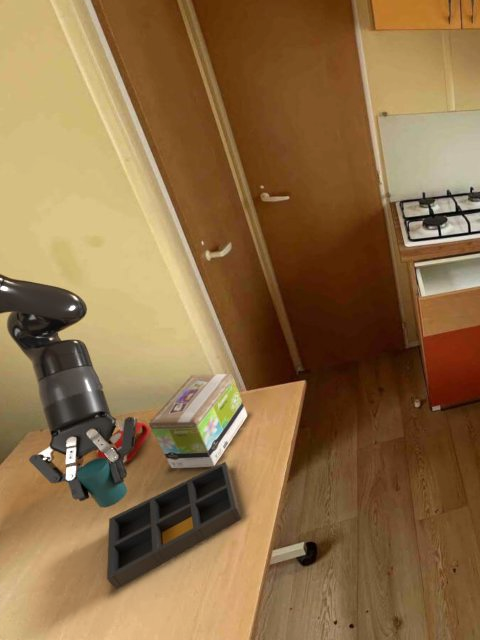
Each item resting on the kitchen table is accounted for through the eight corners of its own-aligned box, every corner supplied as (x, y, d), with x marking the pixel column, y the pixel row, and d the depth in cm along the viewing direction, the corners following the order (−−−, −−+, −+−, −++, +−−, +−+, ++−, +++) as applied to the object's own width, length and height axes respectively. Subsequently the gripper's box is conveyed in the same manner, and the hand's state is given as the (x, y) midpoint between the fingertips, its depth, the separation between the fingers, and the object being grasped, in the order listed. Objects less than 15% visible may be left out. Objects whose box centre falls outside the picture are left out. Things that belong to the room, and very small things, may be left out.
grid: (115, 589, 75) (106, 579, 73) (117, 529, 84) (109, 518, 82) (241, 518, 86) (236, 508, 84) (230, 472, 95) (225, 461, 93)
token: (98, 512, 73) (75, 483, 69) (98, 495, 76) (77, 466, 72) (127, 498, 75) (107, 469, 71) (127, 481, 78) (107, 453, 74)
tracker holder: (84, 455, 97) (125, 415, 104) (100, 464, 100) (139, 425, 107) (111, 463, 92) (152, 421, 100) (127, 472, 95) (166, 431, 102)
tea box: (216, 467, 96) (193, 422, 89) (171, 469, 95) (144, 424, 89) (249, 415, 109) (232, 372, 102) (209, 416, 109) (189, 373, 102)
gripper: (4, 417, 68) (34, 521, 65) (119, 377, 76) (149, 468, 73) (27, 420, 74) (55, 515, 71) (131, 382, 82) (159, 466, 79)
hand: (102, 490), depth 72 cm, fingers closed on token, 4 cm apart
